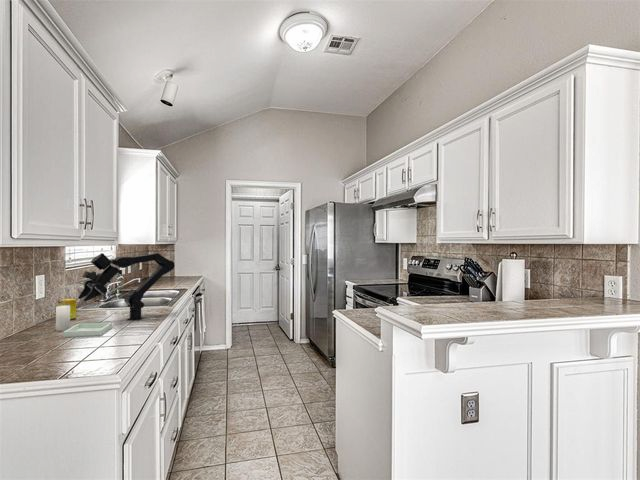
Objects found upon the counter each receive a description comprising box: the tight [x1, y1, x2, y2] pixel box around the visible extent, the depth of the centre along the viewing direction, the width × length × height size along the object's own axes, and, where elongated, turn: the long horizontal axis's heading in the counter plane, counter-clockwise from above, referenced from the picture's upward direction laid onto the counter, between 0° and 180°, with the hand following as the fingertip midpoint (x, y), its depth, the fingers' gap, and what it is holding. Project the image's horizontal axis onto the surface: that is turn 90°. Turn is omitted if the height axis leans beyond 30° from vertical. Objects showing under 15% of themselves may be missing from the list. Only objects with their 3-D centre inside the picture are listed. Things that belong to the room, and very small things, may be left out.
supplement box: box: [57, 298, 77, 321], centre depth 191 cm, size 6×6×11 cm
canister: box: [55, 305, 71, 332], centre depth 172 cm, size 6×6×11 cm
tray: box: [62, 322, 113, 338], centre depth 167 cm, size 15×15×2 cm
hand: (81, 299), depth 177 cm, fingers open, 9 cm apart
